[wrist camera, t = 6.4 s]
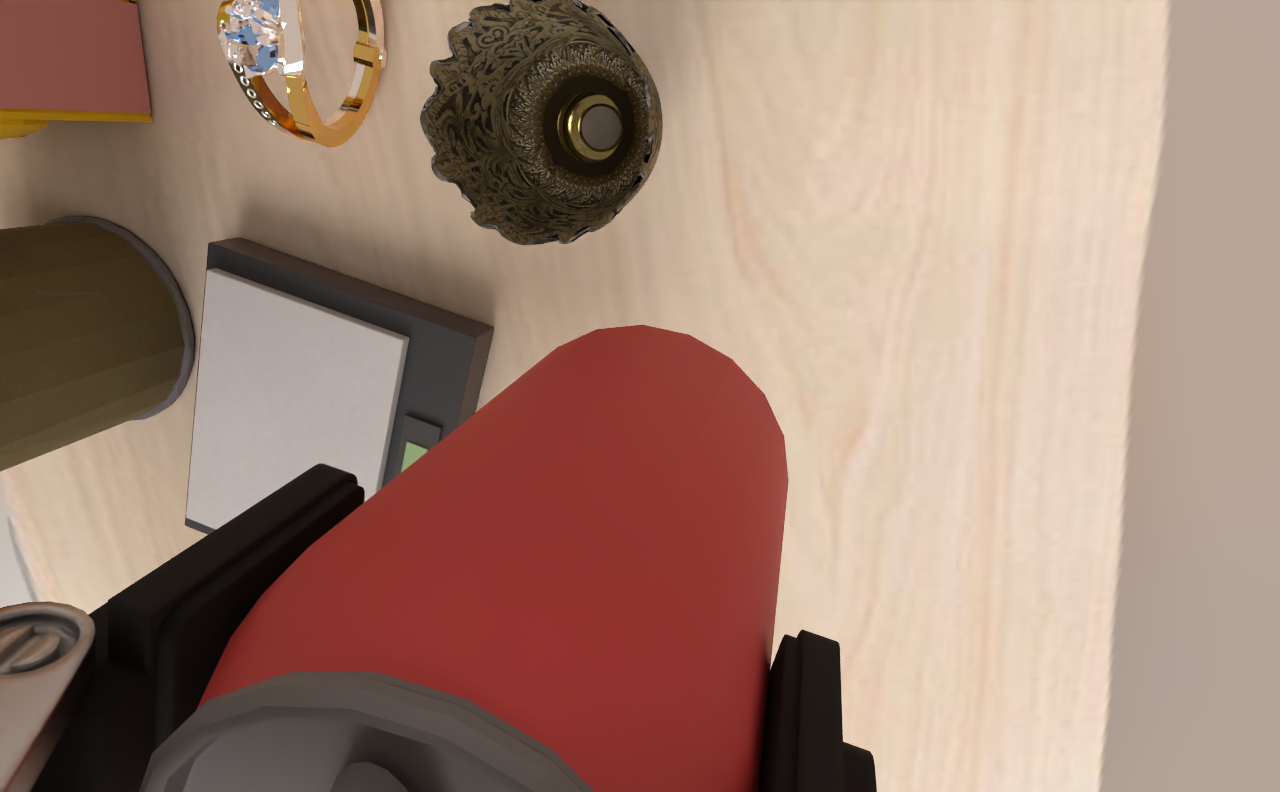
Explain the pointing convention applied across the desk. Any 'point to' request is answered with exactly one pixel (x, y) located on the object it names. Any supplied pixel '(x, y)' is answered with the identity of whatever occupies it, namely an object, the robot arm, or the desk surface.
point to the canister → (84, 334)
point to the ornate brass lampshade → (541, 119)
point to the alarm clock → (70, 64)
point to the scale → (317, 379)
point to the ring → (298, 65)
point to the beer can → (526, 601)
